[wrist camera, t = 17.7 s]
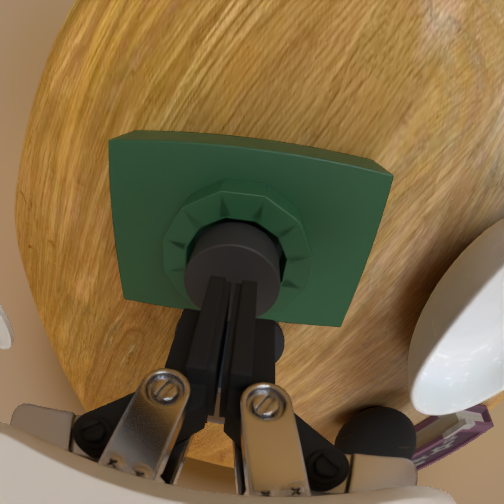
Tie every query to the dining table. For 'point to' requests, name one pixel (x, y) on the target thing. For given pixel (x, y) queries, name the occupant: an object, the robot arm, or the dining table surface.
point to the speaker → (378, 434)
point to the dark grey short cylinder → (234, 263)
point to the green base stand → (244, 215)
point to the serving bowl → (461, 332)
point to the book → (448, 434)
